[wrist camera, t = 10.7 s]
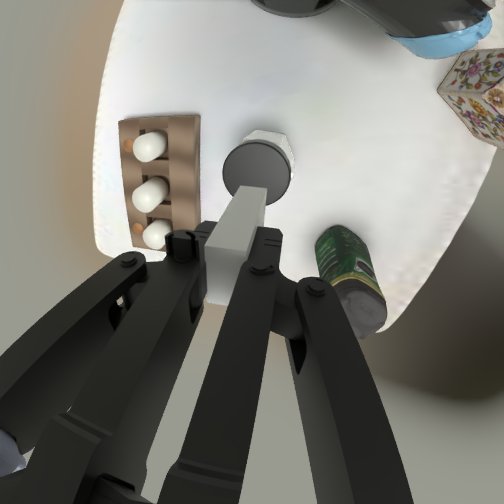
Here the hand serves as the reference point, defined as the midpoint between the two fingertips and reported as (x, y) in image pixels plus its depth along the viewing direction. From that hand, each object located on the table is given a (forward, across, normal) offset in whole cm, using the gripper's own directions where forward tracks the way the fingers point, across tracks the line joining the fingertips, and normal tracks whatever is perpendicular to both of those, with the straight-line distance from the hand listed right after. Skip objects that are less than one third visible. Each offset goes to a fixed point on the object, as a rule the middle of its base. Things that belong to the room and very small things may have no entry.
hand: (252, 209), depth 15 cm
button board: (+28, -20, -10) cm, 36 cm away
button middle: (+26, -20, -9) cm, 34 cm away
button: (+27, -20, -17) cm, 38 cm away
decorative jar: (+29, +32, +16) cm, 46 cm away
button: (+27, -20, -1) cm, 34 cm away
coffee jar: (+29, +13, -18) cm, 36 cm away
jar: (+29, -2, -3) cm, 29 cm away
